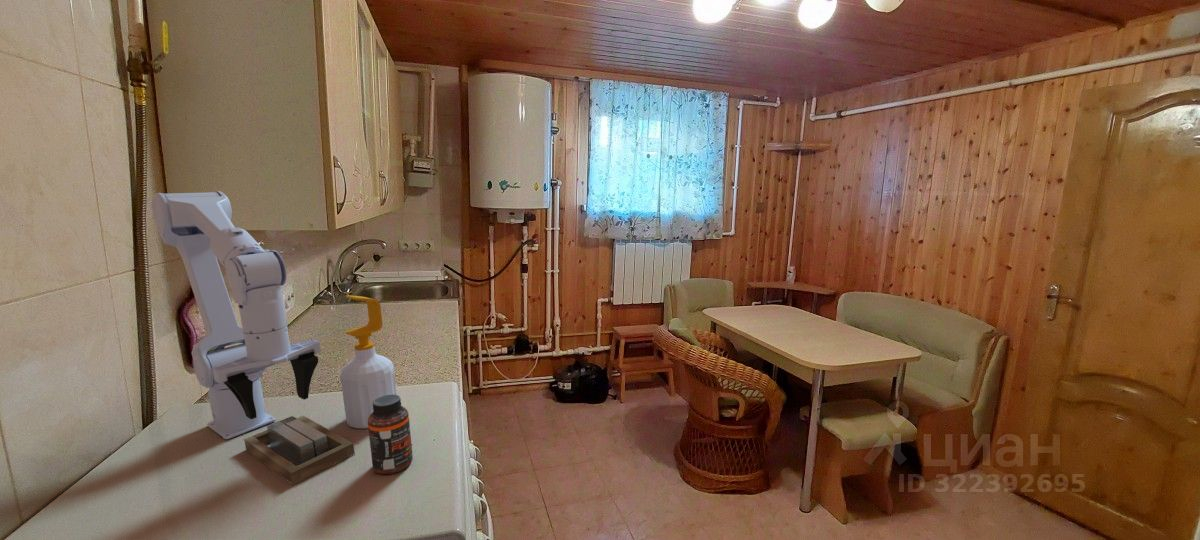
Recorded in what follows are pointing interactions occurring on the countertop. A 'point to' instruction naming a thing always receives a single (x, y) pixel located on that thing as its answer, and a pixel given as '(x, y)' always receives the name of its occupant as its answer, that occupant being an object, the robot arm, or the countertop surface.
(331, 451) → the brown rectangular open frame
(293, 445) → the grooved grey block
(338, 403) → the countertop surface
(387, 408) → the supplement bottle
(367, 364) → the soap bottle
